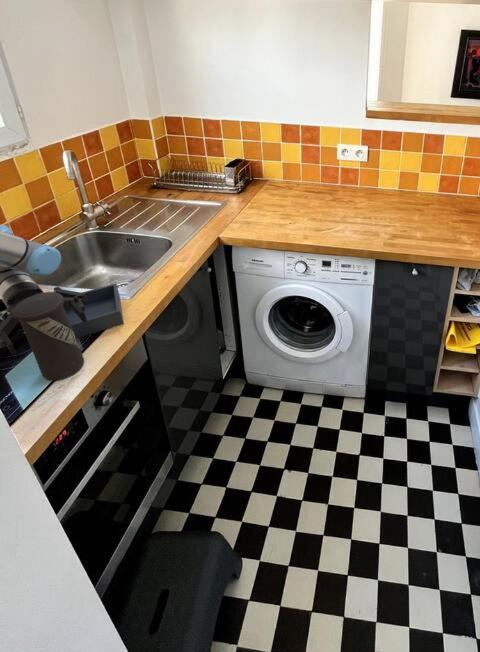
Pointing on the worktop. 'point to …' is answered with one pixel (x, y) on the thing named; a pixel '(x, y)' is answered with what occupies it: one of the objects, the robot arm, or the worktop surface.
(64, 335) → the container
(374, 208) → the worktop surface
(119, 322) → the tote
